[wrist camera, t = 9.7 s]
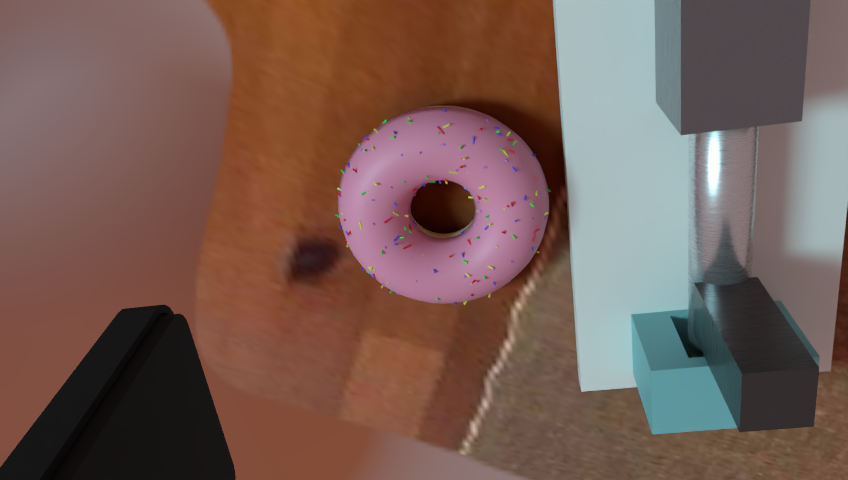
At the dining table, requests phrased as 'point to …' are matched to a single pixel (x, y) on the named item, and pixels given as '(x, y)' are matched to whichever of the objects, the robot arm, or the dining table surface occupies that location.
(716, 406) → the socket
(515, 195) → the doughnut
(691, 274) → the silver bolt with handle
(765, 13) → the sleeve
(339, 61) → the dining table surface
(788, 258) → the base board
